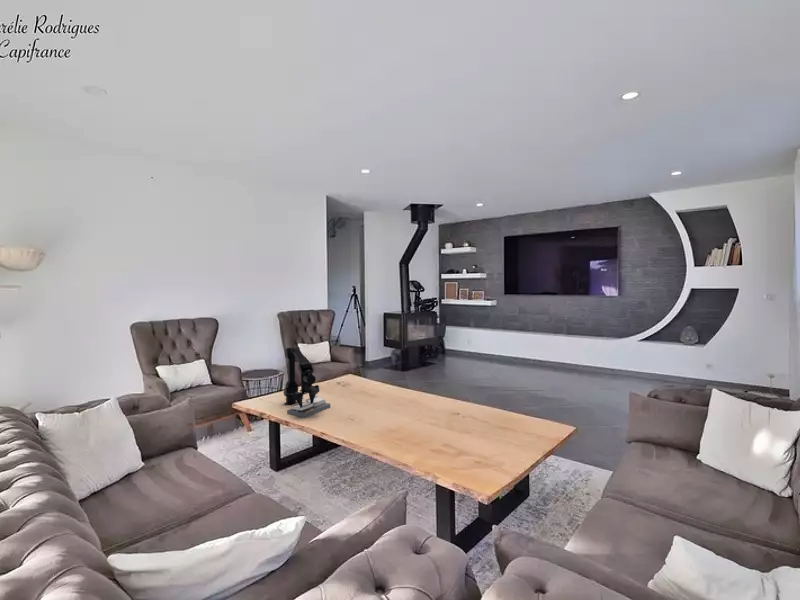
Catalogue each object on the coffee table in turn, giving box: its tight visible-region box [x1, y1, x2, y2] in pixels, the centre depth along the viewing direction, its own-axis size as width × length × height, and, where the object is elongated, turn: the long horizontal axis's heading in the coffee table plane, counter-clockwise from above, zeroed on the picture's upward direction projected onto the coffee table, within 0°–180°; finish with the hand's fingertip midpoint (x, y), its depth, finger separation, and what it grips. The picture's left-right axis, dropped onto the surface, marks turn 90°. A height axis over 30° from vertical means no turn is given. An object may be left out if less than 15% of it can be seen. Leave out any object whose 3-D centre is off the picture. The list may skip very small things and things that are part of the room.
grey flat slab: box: [290, 401, 313, 410], centre depth 259 cm, size 9×10×2 cm
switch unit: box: [286, 402, 331, 419], centre depth 264 cm, size 15×24×4 cm, turn 148°
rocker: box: [304, 395, 327, 407], centre depth 269 cm, size 9×10×2 cm
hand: (306, 405), depth 257 cm, fingers open, 9 cm apart
